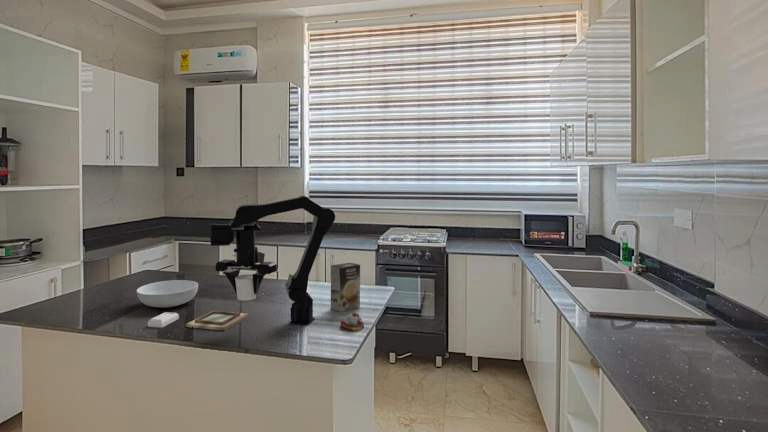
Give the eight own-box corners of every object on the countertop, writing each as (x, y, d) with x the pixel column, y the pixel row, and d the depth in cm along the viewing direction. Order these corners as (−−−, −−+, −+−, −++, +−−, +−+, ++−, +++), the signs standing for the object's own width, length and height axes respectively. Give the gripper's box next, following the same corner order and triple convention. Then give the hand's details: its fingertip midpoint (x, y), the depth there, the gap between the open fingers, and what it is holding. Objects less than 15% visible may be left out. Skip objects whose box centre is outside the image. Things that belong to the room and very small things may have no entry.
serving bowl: (128, 304, 166) (128, 286, 166) (185, 294, 181) (184, 277, 181) (149, 316, 152) (148, 297, 151) (208, 304, 167) (208, 286, 167)
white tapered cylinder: (249, 294, 145) (249, 273, 145) (262, 297, 141) (262, 276, 141) (231, 298, 140) (230, 276, 139) (243, 302, 136) (243, 280, 135)
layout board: (248, 316, 152) (248, 311, 152) (224, 330, 139) (224, 325, 138) (212, 313, 156) (212, 308, 155) (186, 326, 142) (185, 321, 142)
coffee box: (341, 312, 157) (341, 268, 156) (330, 308, 162) (329, 265, 160) (360, 307, 164) (360, 264, 162) (349, 303, 168) (349, 261, 167)
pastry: (365, 331, 139) (365, 315, 139) (341, 332, 138) (341, 316, 137) (362, 322, 147) (362, 308, 147) (339, 324, 146) (339, 309, 145)
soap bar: (147, 327, 142) (147, 319, 142) (165, 318, 151) (165, 311, 151) (161, 328, 141) (161, 320, 141) (179, 319, 150) (178, 312, 150)
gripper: (284, 242, 145) (285, 289, 146) (233, 240, 149) (234, 285, 150) (268, 247, 134) (269, 298, 136) (213, 245, 138) (214, 293, 140)
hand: (246, 293), depth 141 cm, fingers closed on white tapered cylinder, 6 cm apart
